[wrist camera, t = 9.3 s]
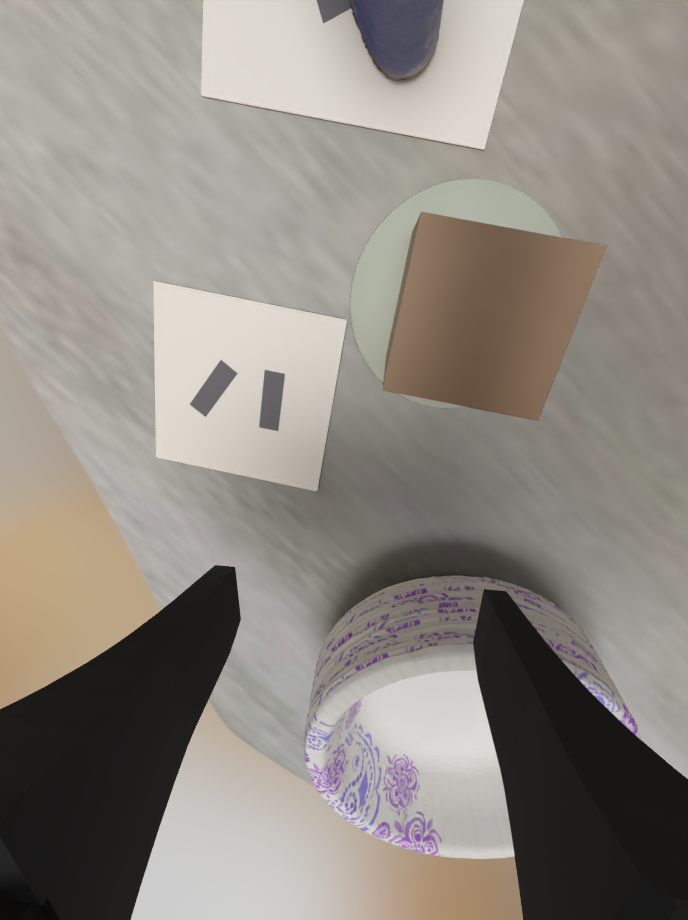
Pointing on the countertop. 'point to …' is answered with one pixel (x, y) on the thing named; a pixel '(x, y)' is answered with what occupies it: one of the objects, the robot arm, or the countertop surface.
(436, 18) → the flask
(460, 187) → the plate
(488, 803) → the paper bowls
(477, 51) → the code tile
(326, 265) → the countertop surface
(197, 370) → the code tile
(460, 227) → the walnut block
